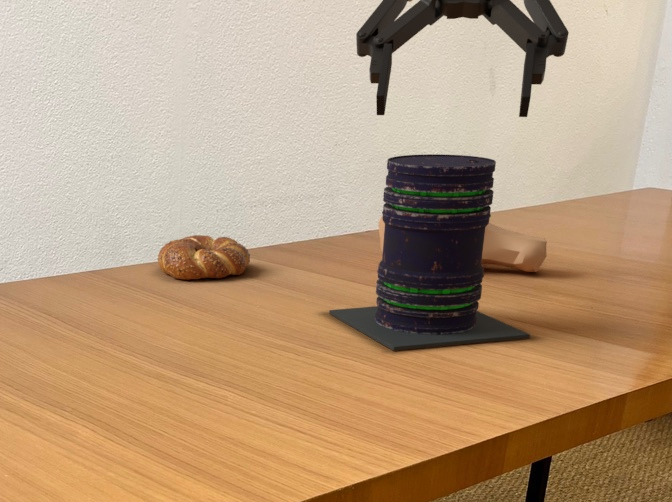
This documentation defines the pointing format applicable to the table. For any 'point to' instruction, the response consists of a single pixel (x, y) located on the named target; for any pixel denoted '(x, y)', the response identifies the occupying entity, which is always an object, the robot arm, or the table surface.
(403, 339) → the coaster
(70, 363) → the table surface
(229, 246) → the braided bread ring
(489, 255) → the squash
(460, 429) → the table surface
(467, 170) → the dark purple barrel
